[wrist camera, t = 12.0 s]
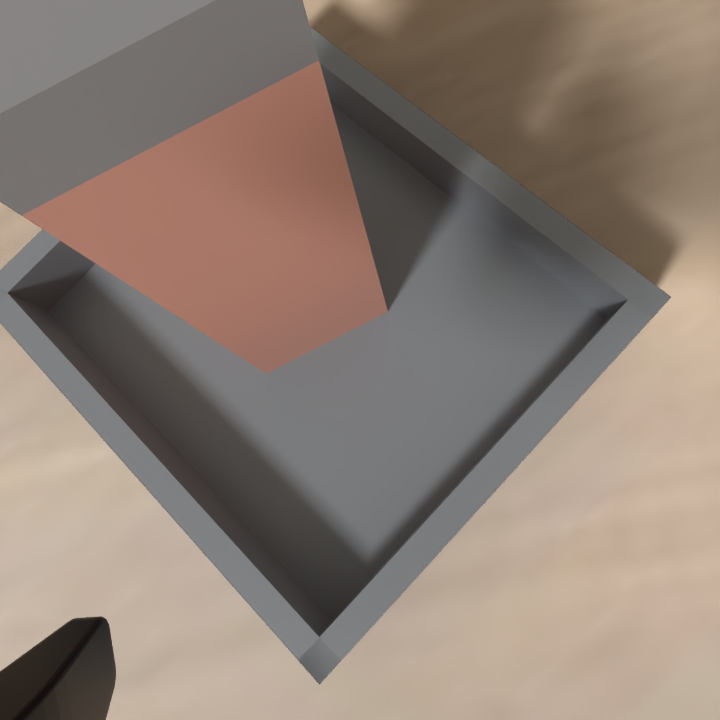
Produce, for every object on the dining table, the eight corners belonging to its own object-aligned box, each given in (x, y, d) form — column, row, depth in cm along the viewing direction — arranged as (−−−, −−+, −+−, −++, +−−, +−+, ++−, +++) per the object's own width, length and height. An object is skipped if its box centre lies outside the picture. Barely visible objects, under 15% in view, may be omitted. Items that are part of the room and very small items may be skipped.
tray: (636, 324, 18) (671, 297, 16) (337, 653, 18) (319, 684, 15) (294, 59, 22) (275, 0, 19) (33, 318, 21) (-25, 294, 19)
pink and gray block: (388, 311, 19) (291, -40, 6) (266, 373, 19) (-75, 152, 6) (329, 201, 20) (146, -288, 7) (215, 261, 20) (-164, -121, 7)
